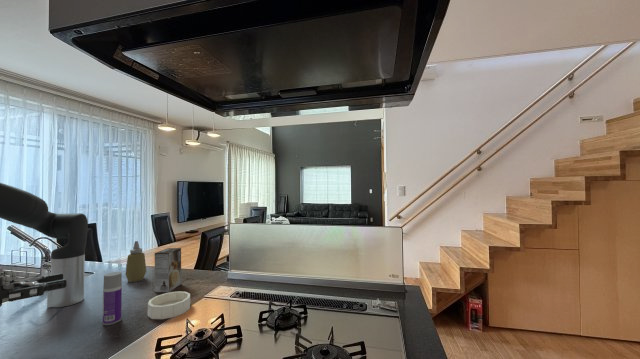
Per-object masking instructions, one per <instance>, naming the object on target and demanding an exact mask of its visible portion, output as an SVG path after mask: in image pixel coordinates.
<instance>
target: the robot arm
mask: <svg viewBox="0 0 640 359" xmlns="http://www.w3.org/2000/svg"><path fill="white" fill-rule="evenodd" d="M0 219H2V220H5V221H7V222H10V223H13V224H17V225H20V226H23V227H27V228H29V229H32V230H35V231H37V232H39V233H41V234H43V235H44V236H46V237H49V238H52V239H68V241H67V243H66V244H65V245H63V246H61V247H57V248H55V249H53V250H52V251H51V252H50V253H51V254H50V275H41V274H37V275H32V276H27V277H21V278H15V279H11V280H10V279H9V283H4V278H3V277H2V276H0V308H1V307H2V306H3V300H4V299H8V300H7V302H10V303H11V302H15V301H20V300H24V299H30V298H35V297H40V296H44V294H46V293H47V294H46V296H47V297H46V298H47V299H46V308H62V307H68V306H72V305H75V304H77V303H80V302H82V301H84V298H85V266H86V264H85V262H86V261H85V260H86V258H85V257H86V255H85V254H86V247H87V239H88V230H89V229H88V228H89V221H88V218H87V216H86V215H85V213H79V212H77V213H56V212H55V213H54V212H51V211H49V206H48V204H47V202H46V201H45V200H44V199H42V198H41V197H39V196H37V195H35V194H33V193H31V192H29V191H27V190H24V189H22V188H18V187H16V186H13V185H9V184H6V183H3V182H0Z"/></svg>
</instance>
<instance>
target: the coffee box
mask: <svg viewBox="0 0 640 359" xmlns="http://www.w3.org/2000/svg"><path fill="white" fill-rule="evenodd" d="M180 285H182V247H172V248H171V247H169V248H168V247H167V248H165V249H162V250H160V251H157V252H154V292H155V293H169V292H172V291H173V290H174V289H176V288H177V287H179V286H180Z"/></svg>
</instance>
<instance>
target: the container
mask: <svg viewBox="0 0 640 359" xmlns="http://www.w3.org/2000/svg"><path fill="white" fill-rule="evenodd" d="M122 275H123V274H122V272H121V271H111V272H108V273H105V274H104V275H103V290H102V292H103V293H102V326H109V325H111V326H112V325H115V324H116V323H119V322H121V320H122V303H123V302H122V301H123V300H122V297H123V296H122V294H123V293H122V292H123V290H122V289H123V288H122V287H123V282H122V277H123V276H122Z"/></svg>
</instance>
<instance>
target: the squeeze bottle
mask: <svg viewBox="0 0 640 359" xmlns="http://www.w3.org/2000/svg"><path fill="white" fill-rule="evenodd" d="M129 252H130V253H129V254H128V255H127V261H126V266H125V267H126V268H125V274H124V275H125V277H126V279H127V281H128V282H129V283H136V282H140V281H143V280H144V278H145V276H146V274H147V266H146V265H147V264H146V256H145V255H146V254H145V252H143V248H142V247H140V244H139V241H138V240H135V241H134V243H133V247H132V248H131V249H130V250H129Z"/></svg>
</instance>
